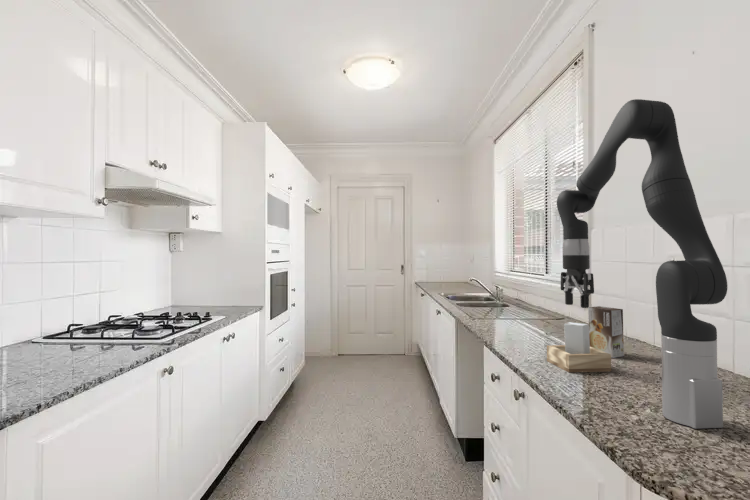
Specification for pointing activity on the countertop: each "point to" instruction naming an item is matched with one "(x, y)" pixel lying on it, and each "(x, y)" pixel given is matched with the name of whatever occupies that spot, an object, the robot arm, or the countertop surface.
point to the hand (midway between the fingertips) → (576, 306)
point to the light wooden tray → (579, 360)
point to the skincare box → (577, 338)
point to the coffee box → (606, 330)
